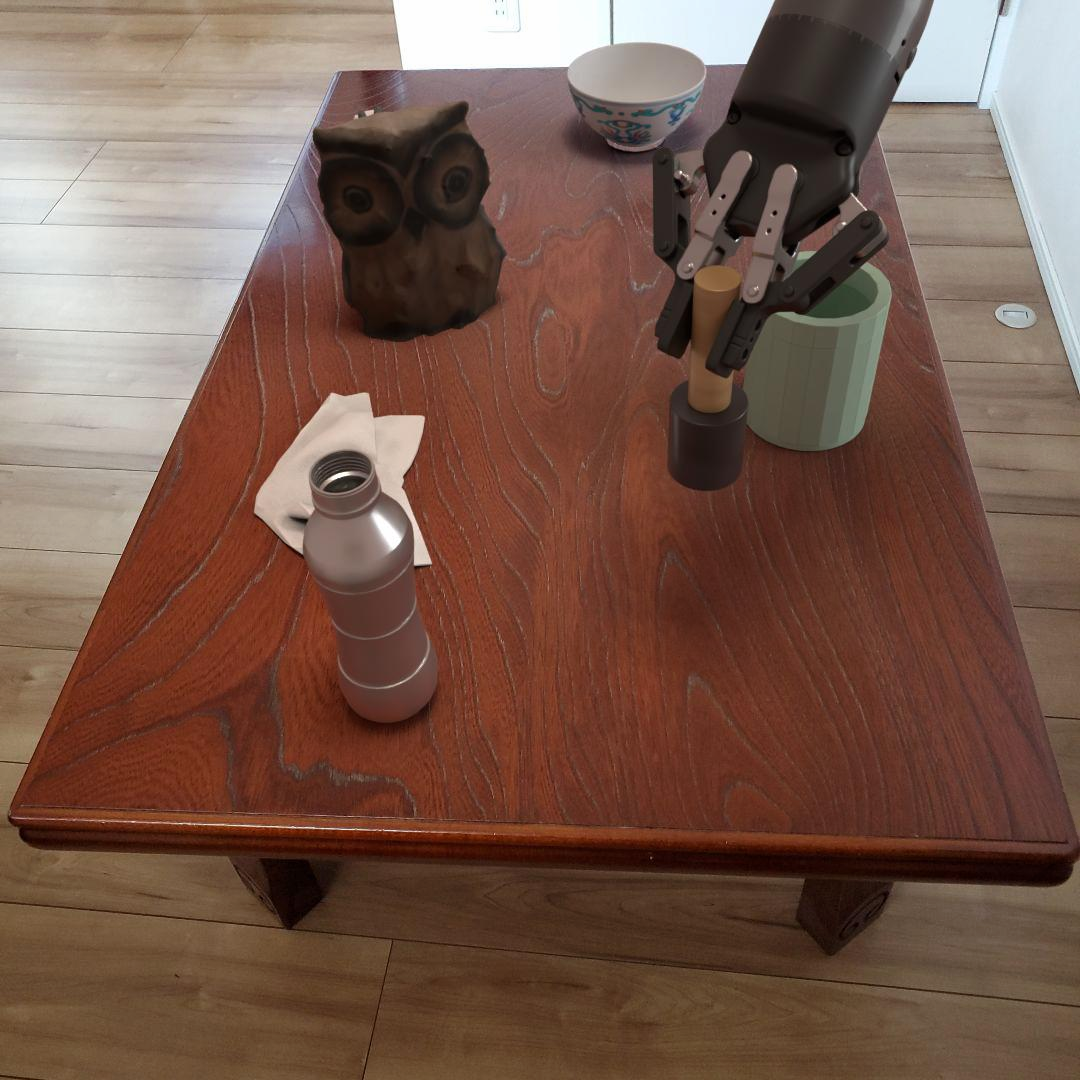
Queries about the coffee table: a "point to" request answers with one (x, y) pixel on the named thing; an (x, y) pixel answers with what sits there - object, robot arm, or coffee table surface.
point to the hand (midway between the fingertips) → (692, 362)
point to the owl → (410, 219)
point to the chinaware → (636, 90)
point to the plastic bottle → (369, 588)
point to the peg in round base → (708, 395)
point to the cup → (819, 365)
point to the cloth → (335, 429)
